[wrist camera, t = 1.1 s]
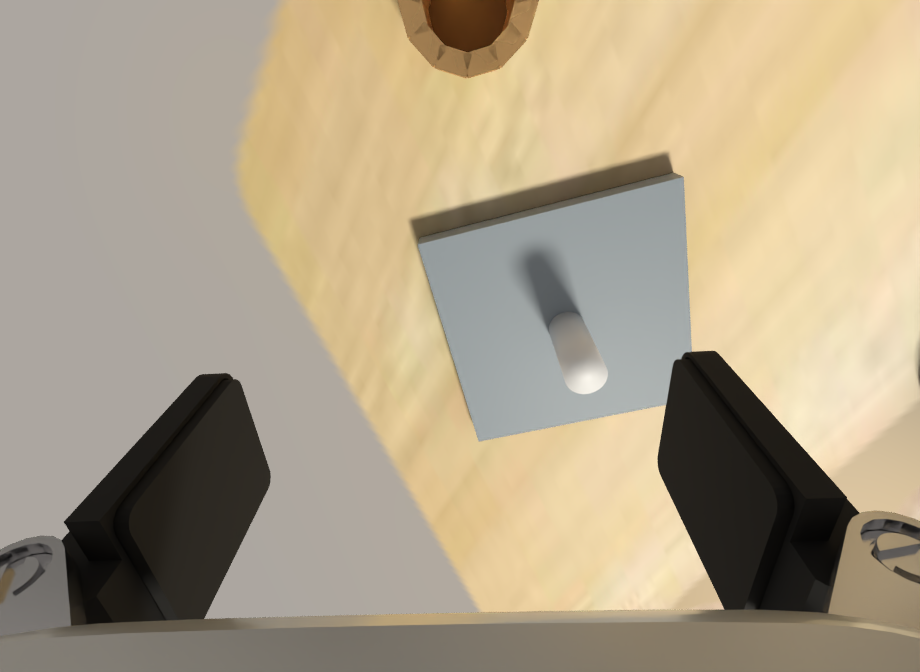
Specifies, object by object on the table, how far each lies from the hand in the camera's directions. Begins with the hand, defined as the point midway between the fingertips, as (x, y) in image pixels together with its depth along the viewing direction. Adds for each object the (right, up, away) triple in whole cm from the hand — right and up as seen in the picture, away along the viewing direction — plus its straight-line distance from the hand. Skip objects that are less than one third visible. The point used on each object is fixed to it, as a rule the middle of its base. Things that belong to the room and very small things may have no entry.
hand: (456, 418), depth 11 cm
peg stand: (+7, +3, +23) cm, 24 cm away
